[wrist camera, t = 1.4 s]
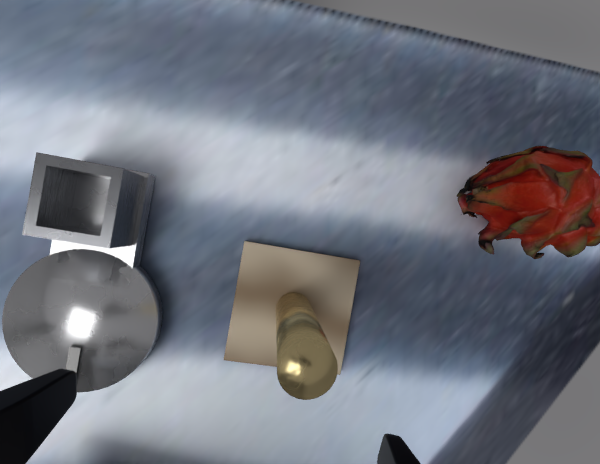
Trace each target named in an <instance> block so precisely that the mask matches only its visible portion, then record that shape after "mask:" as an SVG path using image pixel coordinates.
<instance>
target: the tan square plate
mask: <svg viewBox="0 0 600 464" xmlns="http://www.w3.org/2000/svg"><path fill="white" fill-rule="evenodd" d="M359 265H360V261H359V260H354V259H349V258H343V257H337V256H331V255H325V254H319V253H313V252H307V251H301V250H295V249H289V248H283V247H277V246H272V245H266V244H260V243H254V242H248V241H244V247H243V253H242V258H241V264H240V270H239V276H238V281H237V287H236V293H235V298H234V304H233V310H232V316H231V321H230V327H229V333H228V338H227V344H226V350H225V355H224V360H227V361H235V362H243V363H251V364H259V365H267V366H275V367H277V345H276V304H277V302H278V300H279V299H280V298H281V297H282V296H283V295H284V294H286V293H289V292H298V293H301V294H303V295H304V296H305V297H306V298H307V299H308V300H309V302H310V304H311V306H312V308H313V311H314V313H315V315H316V317H317V319H318V321H319V323H320V325H321V327H322V329H323V331H324V333H325V336H326V338H327V340H328V342H329V344H330V346H331V348H332V350H333V352H334V354H335V357H336V359H337V364H338V372H337V374H338V375H340V373H341V367H342V361H343V356H344V350H345V344H346V339H347V333H348V327H349V322H350V316H351V310H352V304H353V299H354V293H355V287H356V282H357V276H358V270H359Z"/></svg>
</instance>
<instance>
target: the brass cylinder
mask: <svg viewBox="0 0 600 464" xmlns="http://www.w3.org/2000/svg"><path fill="white" fill-rule="evenodd" d="M276 345H277V375H278V380H279V382H280V385H281V386H282V388H283V389H284V390H285V391H286V392H287V393H288V394H289V395H291V396H293V397H295V398H298V399H303V400H309V399H314V398H317V397H319V396H321V395H323V394H325V393H326V392H327V391H328V390H329V389H330V388H331V387H332V385H333V384H334V382H335V379H336V377H337V372H338V364H337V359H336V357H335V354H334V352H333V350H332V348H331V346H330V344H329V342H328V340H327V338H326V336H325V333H324V331H323V329H322V327H321V325H320V323H319V321H318V319H317V317H316V315H315V313H314V311H313V308H312V306H311V304H310V302H309V300H308V299H307V298H306V297H305V296H304V295H303V294H301V293H298V292H289V293H286V294H284V295H283V296H282V297H281V298H280V299H279V300H278V302H277V304H276Z"/></svg>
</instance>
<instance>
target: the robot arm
mask: <svg viewBox="0 0 600 464" xmlns="http://www.w3.org/2000/svg"><path fill="white" fill-rule="evenodd" d="M76 395H77V375H76V372H75V371H73V370H68V369H57V370H55V371H52V372H49V373H47V374H44V375H41V376H39V377H36V378H34V379H31V380H28V381H26V382H23V383H21V384H18V385H15V386H13V387H10V388H7V389H5V390H2V391H0V464H25V463H26V462H27V461H28V460H29V459H30V457H31V456H32V455H33V454H34V453H35V451H36V450H37V449H38V447H39V446H40V445H41V444H42V442H43V441H44V440H45V439H46V437H47V436H48V435H49V433H50V432H51V431H52V430H53V428H54V427H55V426H56V425H57V423H58V422H59V421H60V419H61V418H62V417H63V416H64V414H65V413H66V412H67V411H68V409H69V408H70V407H71V405H72V404H73V402H74V401H75V398H76ZM377 464H420V462H419V461H418V460H417V458H416V457H415V456H414V454H413V453H412V452H411V450H410V449H409V448H408V446H407V445H406V444H405V442H404V441H403V440H402V438H401V437H399V436H397V435H392V434H385V435H384V436H383V439H382V443H381V447H380V451H379V454H378V460H377Z"/></svg>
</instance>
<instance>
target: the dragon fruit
mask: <svg viewBox="0 0 600 464" xmlns="http://www.w3.org/2000/svg"><path fill="white" fill-rule="evenodd" d="M500 159H501V160H500ZM486 163H487V164H488V163H490V164H489V165H488V166H486V167H485V168H483V169H482V170H481V171H480V172H479V173H477V174H475V175H473V176H472V177H470V178H469V179H468V180H467V182H466V184H465V186H464V188H463V189H461V190H460V191H459V193H458V194H457V197H458V202H459V205H460V207H461V209H462V212H463V214H469V216H471V217H476V218H477V216H476V215H474V214H475V213H476V214H478V215H482V216H483V217H484V218H485V219H487V220H488V221H489V223H488V225H487V226H486V228H485V229H483V230H482V231H480V232H479V233H478V234H480V236H479V246H480V247H481V248H482V249H484V250H485V251H486V252H488V253H490V254H494V248H493V246H492V241H493V240H494V239H496V240H497V241H498V240H503V239H512V238H520V239H521V246H522V247H523V250H524V252H525V253H526V254H527V255H529V256H531V257H532V258H534V259H538V258H541V257H542V256H543V255H544V253H537V252H539V251H540V250H541V249H543V248H544V247H546V246H548V245H550V244H551V245H553V246H554V247H555V249H556V250H558V251H559V252H561V253H562V254H564V255H565V256H567V257H572V256H575V255H577V254H579V253H580V252H582V251H583V250H584V249H585V247H586V246H596V245H598V244H599V243H600V176H599V175H598V174H597V173H596V172H595V170H594V169H593V168H592V160H591V159H590V158H589V157H588V156H587V155H586V154H584V153H582V152H580V151H566V150H559V149H555V148H548V147H546V146H535V147H532V148H529V149H526V150H524V151H522V152H517V153H514V154H510V155H506V156H501V158H500V157H498V159H496V158H495V159H492V160H490V161H488V162H486ZM467 191H472V193H469V194H464V193H465V192H467Z"/></svg>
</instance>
